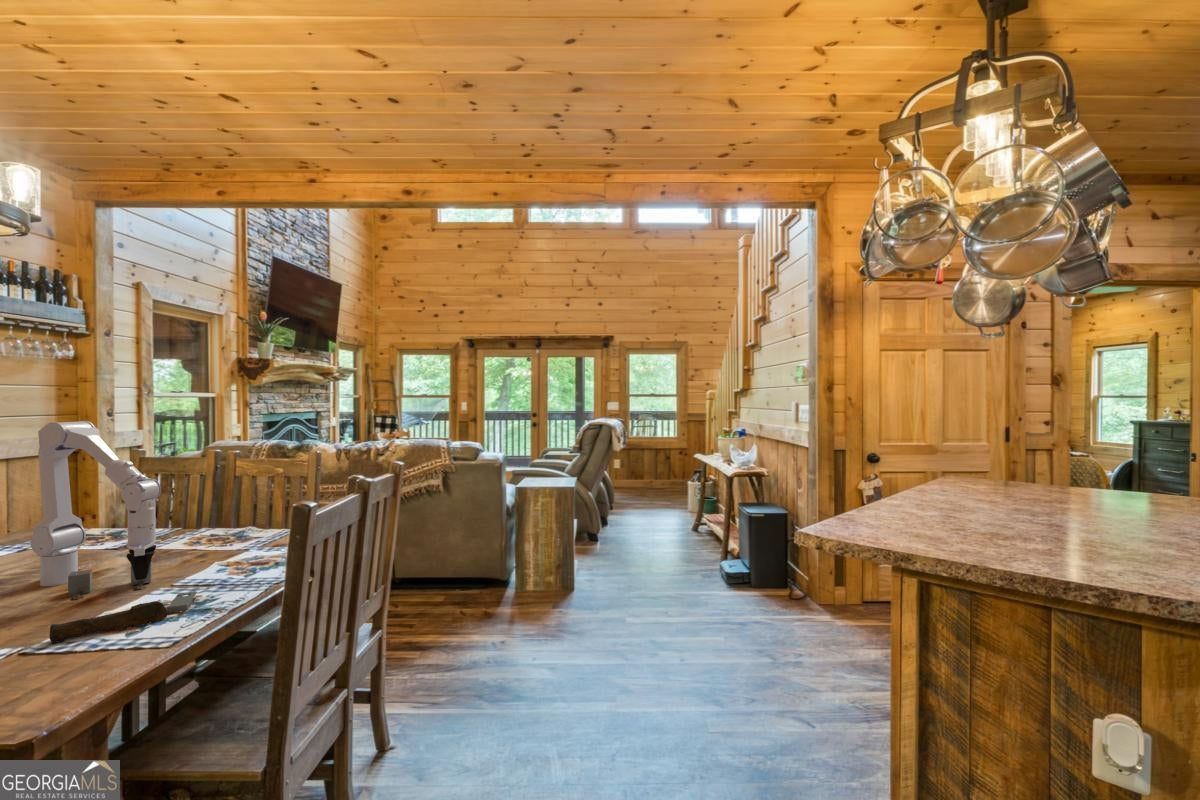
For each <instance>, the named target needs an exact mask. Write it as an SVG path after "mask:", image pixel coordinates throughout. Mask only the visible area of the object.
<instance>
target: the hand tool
mask: <svg viewBox="0 0 1200 800" xmlns="http://www.w3.org/2000/svg"><path fill="white" fill-rule="evenodd" d="M167 617H168V614H167V608H166V607H165V605H164V604H163V602H161V601H157V600H155V601H154V600H153V601H150V602H143V603H139V604H136V605H132V606H131V608H130V609H127V610H124V611H122V610H121V611H117V612H114V613H110V614H109V613H108V614H104V615H100V616H96V617H90V618H82V619H81V618H80V619H79V620H73V621H67V622H65V623H57V624H56V623H55V624H54V623H52V624H51V625H50V627H49V641H50V643H52V644H51V645H54V644H55V643H58V642H62V643H63V642H65V641H66V640H69V639H74V638H78V637H82V636H86V635H87V636H88V635H91V634H96V633H101V632H104V631H109V630H114V629H118V628H122V627H123V628H124V627H130V626H131V627H133V626H136V627H139V626H138V625H141V626H143V625H142V624H145V625H148V624H147V623H149V624H151V623H150V622H152V623H155V622H154V621H156V622H158V621H157V620H159V621H161V620H164V619H166V618H167Z"/></svg>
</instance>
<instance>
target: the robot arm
mask: <svg viewBox="0 0 1200 800" xmlns="http://www.w3.org/2000/svg"><path fill="white" fill-rule="evenodd" d="M37 433H38V443H39V444H38V445H39V446H38V447H39V448H38V464H39V465H38V466H39V467H38V468H39V477H40V479H39V480H40V488H41V498H42V499H41V501H42V511H43V518H42V519H41V520H40V521H39V522H38V523H36V525H34V526H33V528H32V537H31V539H30V548H31V550H32V551H33V553H35V554H36V556H37V557H39V586H40V587H53V586H61V585H65V584H68V576H69V574H70V573H71V572H76V571H79V554H78V552H79V551H78V550H80V549H81V545H83V544H84V543H85V540H86V539H87V533H86V530H85V527H84V526H83V521H82V518H80V517H78V516H76V515H74V514H73V507H72V496H71V495H72V494H71V486H70V473H69V472H70V471H69V461H68V458H69V456H71V454H73V452H75V450H78V449H80V450H83V451H84V452H85V453H87V454H88V455H89V456H90V457H92V458H93V459H94V460H95V461H97V462H98V463H99V464H100V465H101V466H102V467H104V468H105V470H104V475H105V476H106V477H107V478H108V480H110V481H111V482H112V483H113V484H114V485H115V486H116V487H117V488H118V489H120V490H121V493H120V497H121V500H123V502H124V505H125V509H126V511H127V543H126V548H127V549H129V550H128V552H129V553H126V559H127V561H128V562H130V566H131V565H132V568H133V572H134V576H135V579H136V580H141V579H146V577H147V574H148V569H149V564H150V560H152V559H153V556H154V554H155V552H156V549H157V544H158V545H159V544H161V543H162V539H156V537H157V536H156V533H157V532H156V525H157V524H156V510H157V509H156V500H157V499H158V498H159V497H160V496H161V493H162V487H161V485H160V483H159V482H158V480H157V479H154V478H149V477H148V476H145V474H143V473H141V471H140V470H138V468H136V466H134V463H133V462H132V461H130V460H127V459H120V458H119V457H118V456H117V455H116V454H115V452H114V451H113V450H112V449H111V448H110V447H109V446H108V445H107V443H106V442H105V441H104V439H102V438H101V436H100V429H98V428H97V427H96V426H95V425H94V423H92V422H91V421H88V420H80V421H64V422H61V421H60V422H57V421H51V422H48V423H46V424H45V425H44V426H42V427H41V428H40V429H39V430H38V431H37Z"/></svg>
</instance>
